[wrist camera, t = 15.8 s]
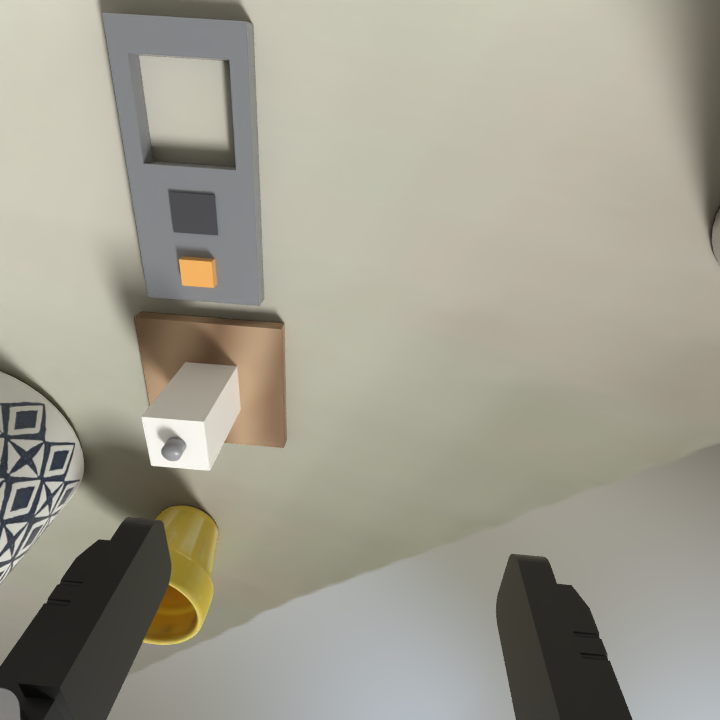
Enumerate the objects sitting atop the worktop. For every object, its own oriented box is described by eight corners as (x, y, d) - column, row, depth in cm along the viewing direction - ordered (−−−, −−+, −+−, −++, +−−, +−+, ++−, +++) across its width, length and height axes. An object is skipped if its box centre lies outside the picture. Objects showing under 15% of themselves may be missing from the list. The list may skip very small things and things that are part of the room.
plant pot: (124, 529, 52) (70, 613, 44) (165, 475, 48) (115, 555, 40) (206, 572, 55) (171, 659, 46) (252, 523, 51) (223, 610, 42)
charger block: (237, 366, 40) (198, 430, 32) (240, 409, 42) (205, 479, 34) (185, 362, 40) (134, 425, 32) (191, 405, 42) (145, 475, 35)
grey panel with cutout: (253, 24, 30) (242, 19, 28) (264, 299, 38) (256, 309, 36) (114, 16, 30) (94, 10, 28) (156, 290, 39) (143, 300, 37)
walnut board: (284, 323, 39) (281, 329, 38) (286, 439, 45) (283, 447, 44) (140, 311, 40) (134, 317, 39) (161, 428, 45) (155, 436, 44)
